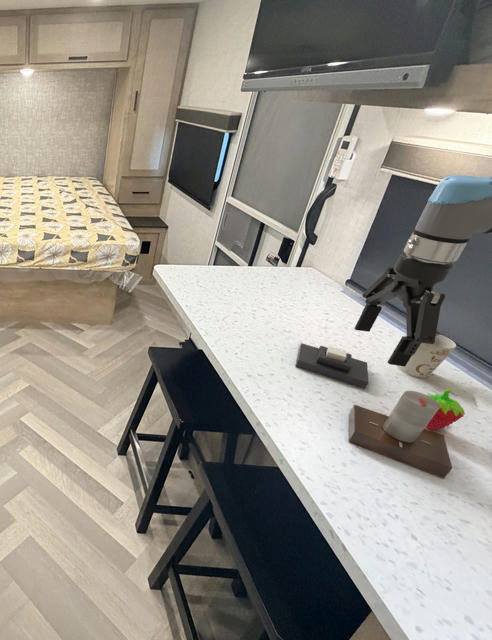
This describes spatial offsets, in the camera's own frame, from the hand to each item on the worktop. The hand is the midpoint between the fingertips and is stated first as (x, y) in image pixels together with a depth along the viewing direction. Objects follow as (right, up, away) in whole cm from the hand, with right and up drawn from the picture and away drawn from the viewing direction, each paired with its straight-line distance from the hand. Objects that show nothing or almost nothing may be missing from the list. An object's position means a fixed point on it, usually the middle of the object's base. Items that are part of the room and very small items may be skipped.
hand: (377, 346), depth 88 cm
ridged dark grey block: (+2, -8, +15) cm, 17 cm away
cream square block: (+2, -4, +14) cm, 15 cm away
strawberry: (+8, -17, -2) cm, 19 cm away
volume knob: (-3, -17, -8) cm, 19 cm away
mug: (+24, -7, +16) cm, 30 cm away
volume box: (-3, -19, -6) cm, 21 cm away
